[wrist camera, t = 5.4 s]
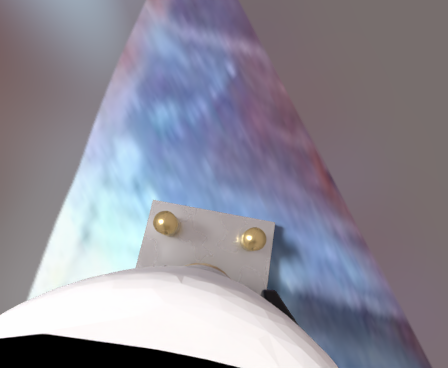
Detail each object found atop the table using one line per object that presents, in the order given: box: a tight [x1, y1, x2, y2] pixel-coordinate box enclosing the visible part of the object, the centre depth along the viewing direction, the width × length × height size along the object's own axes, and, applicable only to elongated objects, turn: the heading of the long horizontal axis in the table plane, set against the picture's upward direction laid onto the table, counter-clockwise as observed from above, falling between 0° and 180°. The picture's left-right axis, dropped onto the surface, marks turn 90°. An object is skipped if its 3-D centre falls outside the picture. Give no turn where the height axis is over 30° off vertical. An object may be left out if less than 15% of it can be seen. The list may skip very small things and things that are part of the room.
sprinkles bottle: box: [0, 263, 338, 368], centre depth 8 cm, size 5×5×13 cm
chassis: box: [136, 200, 275, 296], centre depth 19 cm, size 10×10×4 cm
